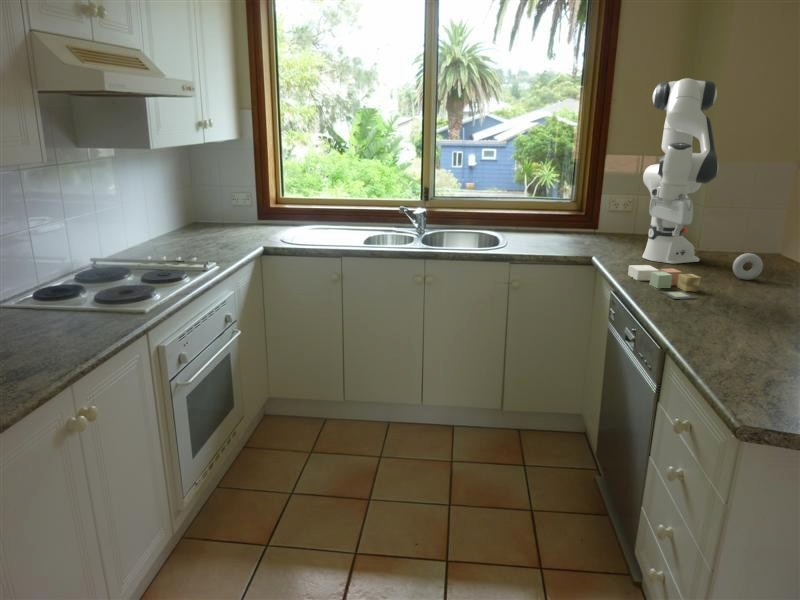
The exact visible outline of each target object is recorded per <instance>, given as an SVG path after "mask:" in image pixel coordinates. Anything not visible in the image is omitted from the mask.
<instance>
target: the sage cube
mask: <svg viewBox="0 0 800 600" xmlns="http://www.w3.org/2000/svg"><path fill="white" fill-rule="evenodd" d="M671 282H672V275H671V274H669V273H666V272H651V278H650V280H649V286H650V285H652V286H654V287H656V288H671V287H672V285H671ZM652 286H651V287H652ZM654 287H653V288H654ZM656 288H655V289H656Z"/></svg>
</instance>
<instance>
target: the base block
mask: <svg viewBox="0 0 800 600" xmlns="http://www.w3.org/2000/svg"><path fill="white" fill-rule="evenodd" d="M660 270H661V269H658V268H656V267H654V266H652V265H650V264H649V265H648V264H643V265H641V264H640V265H639V264H634V265H633V264H632V265H628V272H627V275H628V276H629V277H631V278H632V277H633V278H632V279H634V280H636V281H650V278H651V272H660Z"/></svg>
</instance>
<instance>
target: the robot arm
mask: <svg viewBox="0 0 800 600" xmlns="http://www.w3.org/2000/svg"><path fill="white" fill-rule="evenodd" d="M717 97H718V89H717V86H716V83H715V82H714V81H712V80H711V81H710V80H698V79H697V80H696V79H693V78H689V77H687V78H682V79H679V80H673V81H669V80H668V81H661V82H659V83H658V84H657V85H656V86H655V89H654V90H653V93H652V102H653V106H654V108H655V109H656V110H660V111H666V116H665V119H664V120H665V121H664V125H663V133H662V140H661V146H660V147H661V150H662V152H663V153H664V155H662V156H661V157H660V158H659V163H656V164H651V165H649V166H647V167H646V169H645V170H644V172H643V175H642V179H643V180H642V181H643V184H644V185H645V187H646V188H647V189H648V191H649V194H650V201H649V210H648V212H649V216H651V219H650V224H649V227H648V235H647V236H648V237H647V238H648V239H647V243H646V247H645V248H644V249H645V250H644V252H643V254H642V256H641V257H642V258H643V259H645V260H648V261H652V262H658V263H667V264H673V265H674V264H683V263H695V262H696V263H697V262H700V258H699V257H698V256H696V255H695V247H694V245H693V244H692V243H691V242H690V241H689V240H688V239H687V238H685V237H684V236H683V233H684V234H687V233H688V232H689V229H688V228H687V227H684V226H688V225H691V224H692V223H693V216H694V204H693V200H692V198H691V196H688V194H693V193H694V194H695V193H696V192H697V191H698V190H699V189H700V187H701V186H702V184H708V183H710V182H712V181H713V180H714V179H715V178H717V176H718V172H719V166H720V165H719V161H718V156H717V152H716V148H715V147H716V146H715V141H714V140H715V139H714V132H713V127H712V122H711V120H710V118H709V117H708V116H707V115H705V113H703V112H705V111H707V110H709V109H711V108H712V107H713V105H714V103H715V102H716V100H717ZM694 137H695V139H697V140H698V141H699V148H700V152H699V153H698V152H694V151H693V150H694V149H693V139H694Z"/></svg>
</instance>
